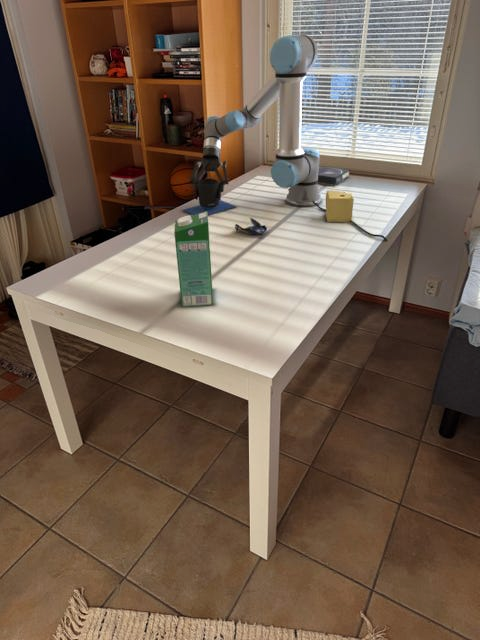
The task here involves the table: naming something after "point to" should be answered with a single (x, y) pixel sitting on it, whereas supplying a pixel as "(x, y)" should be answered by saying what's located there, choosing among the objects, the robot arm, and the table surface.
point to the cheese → (339, 206)
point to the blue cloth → (210, 208)
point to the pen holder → (208, 192)
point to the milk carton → (194, 259)
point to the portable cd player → (331, 175)
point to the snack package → (252, 228)
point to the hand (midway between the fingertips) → (207, 198)
